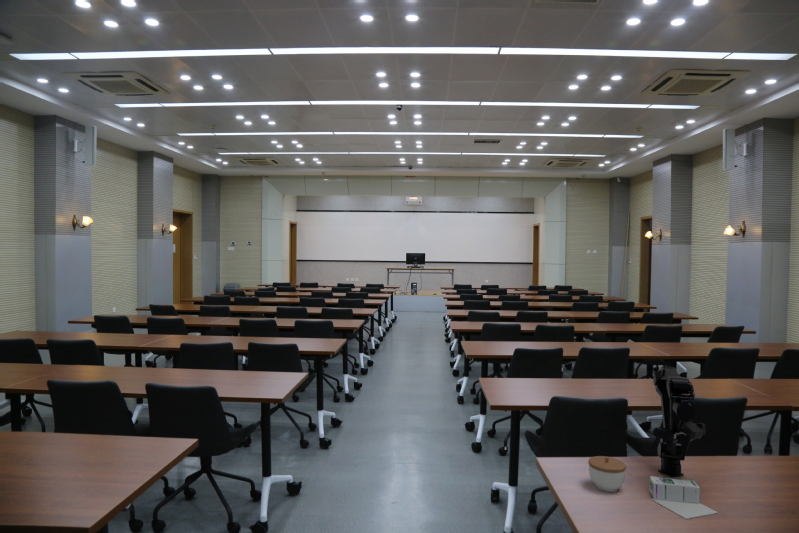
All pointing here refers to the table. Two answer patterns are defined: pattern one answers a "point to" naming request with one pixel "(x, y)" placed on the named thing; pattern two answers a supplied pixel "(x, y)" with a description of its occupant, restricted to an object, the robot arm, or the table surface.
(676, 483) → the syrup box
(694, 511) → the mat
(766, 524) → the table surface
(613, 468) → the lidded bowl
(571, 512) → the table surface
